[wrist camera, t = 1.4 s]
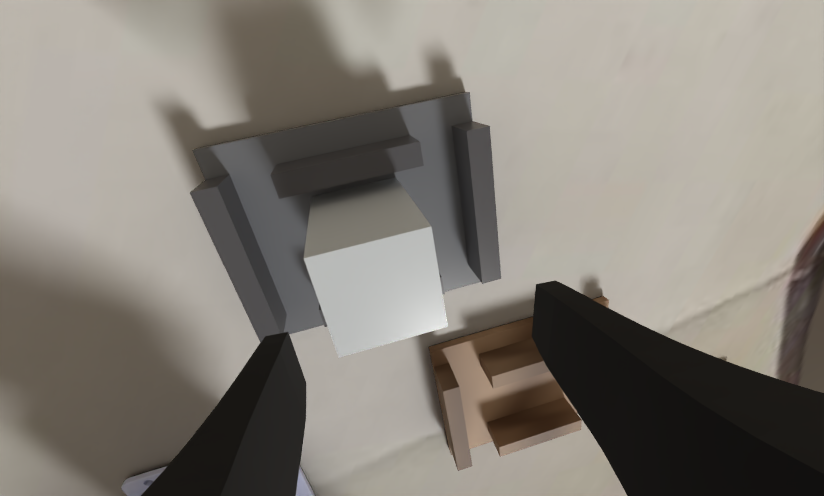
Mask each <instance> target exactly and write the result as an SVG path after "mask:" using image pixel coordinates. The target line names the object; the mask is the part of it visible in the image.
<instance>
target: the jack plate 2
mask: <svg viewBox="0 0 824 496" xmlns="http://www.w3.org/2000/svg"><path fill="white" fill-rule="evenodd" d="M592 300H594V301H596V302H598V303H600V304H601V305H603V306H605V307H607V308H608V303H609V300H608V299H607V298H605V297H604V296H602V297H599V298H595V299H592ZM532 326H533V317H530V318H526V319H523V320H519V321H516V322H513V323H509V324H506V325H502V326H499V327H495V328H492V329H489V330H485V331H482V332H478V333H475V334H471V335H468V336H464V337H461V338H458V339H454V340H451V341H447V342H444V343H440V344H437V345H433V346H430V347H429V351H430V356H431V361H432V366H433V371H434V376H435V381H436V386H437V391H438V396H439V401H440V406H441V411H442V416H443V421H444V426H445V430H446V435H447V440H448V445H449V450H450V453H451V455H453V457H454V460H455V463H456V466H457V469H458V471H459V470H462V469H465V468H468V467H471V466H472V461H471V455H470V449H471V448H474V447H477V446H480V445H483V444H486V443H489V442H492V441H493V442H494V444H495V446H496V449H497V451H498V453H499V455H500V457H501V456H504V455H507V454H510V453H513V452H516V451H519V450H522V449H525V448H528V447H531V446H534V445H537V444H540V443H543V442H546V441H549V440H552V439H555V438H558V437H561V436H564V435H567V434H570V433H573V432H576V431H579V430H581V421H582V420H581V419H580V417H579V416H578V415H577V413H578V412H577V411H576V409H575V408H574V406H573V405H572V404H571V402H570V401H569V399H568V398H567V396H566V395H565V393H564V392H563V390H562V389H561V387H560V386H559V384H558V383H557V381H556V380H555V378H554V377H553V375H552V374H551V372H550V371H549V369H548V368H547V366H546V364H545V362H544V360H543V359H542V357H541V355H540V353H539V351H538V349H537V347H536V345H535V342H534V340H533V338H532Z"/></svg>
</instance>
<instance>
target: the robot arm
mask: <svg viewBox="0 0 824 496" xmlns="http://www.w3.org/2000/svg"><path fill="white" fill-rule="evenodd" d="M532 338H533V340H534V342H535V345H536V347H537V349H538V351H539V353H540V355H541V357H542V359H543V360H544V362H545V364H546V366H547V368H548V369H549V371H550V372H551V374H552V375H553V377H554V378H555V380H556V381H557V383H558V384H559V386H560V387H561V389H562V390H563V392H564V393H565V395H566V396H567V398H568V399H569V401H570V402H571V404H572V405H573V406H574V408H575V409H576V411H577V412H578V414H579V415H580V417H581V418H582V420H583V421H584V423H585V424H586V426H587V427H588V429H589V430H590V431H591V433H592V434H593V436H594V438H595V439H596V441H597V442H598V444H599V446H600V447H601V449H602V450H603V452H604V454H605V456H606V457H607V459H608V461H609V463H610V465H611V466H612V468H613V470H614V472H615V474H616V475H617V477H618V479H619V481H620V483H621V484H622V486H623V488H624V490H625V492H626V494H627V496H824V393H821V392H817V391H814V390H810V389H808V388H804V387H801V386H798V385H794V384H791V383H788V382H785V381H782V380H779V379H776V378H773V377H770V376H767V375H764V374H761V373H758V372H755V371H752V370H749V369H746V368H743V367H740V366H738V365H735V364H732V363H729V362H727V361H724V360H721V359H719V358H716V357H714V356H711V355H709V354H706V353H704V352H701V351H699V350H696V349H694V348H691V347H689V346H686V345H684V344H682V343H679V342H677V341H675V340H672V339H670V338H668V337H666V336H664V335H662V334H659V333H657V332H655V331H653V330H651V329H649V328H647V327H644V326H642V325H640V324H638V323H636V322H634V321H632V320H630V319H628V318H626V317H624V316H622V315H621V314H619V313H617V312H615V311H613V310H611V309H609V308H607V307H605V306H603V305H601V304H600V303H598V302H596V301H594V300H592V299H590V298H588V297H586V296H585V295H583V294H581V293H579V292H577V291H575V290H573V289H571V288H570V287H568V286H566V285H564V284H562V283H559V282H557V281H551V282H546V283H541V284H536V291H535V303H534V314H533V326H532ZM305 421H306V381H305V378H304V376H303V373H302V370H301V367H300V364H299V361H298V358H297V356H296V353H295V350H294V347H293V344H292V341H291V338H290V336H289V333H288V332H284V333H279V334H274V335H269V336H265V337H264V339H263V340H262V342H261V343H260V344H259V346H258V347H257V349H256V350H255V352H254V353H253V355H252V356H251V358H250V359H249V360H248V362H247V363H246V365H245V366H244V368H243V369H242V371H241V372H240V374H239V375H238V377H237V378H236V379H235V381H234V382H233V384H232V385H231V386H230V388H229V389H228V391H227V392H226V393H225V395H224V396H223V397H222V399H221V400H220V402H219V403H218V404H217V406H216V407H215V408H214V410H213V411H212V412H211V414H210V415H209V416H208V417H207V419H206V420H205V421H204V423H203V424H202V425H201V426H200V428H199V429H198V430H197V431H196V433H195V434H194V435H193V437H192V438H191V439H190V440H189V442H188V443H187V444H186V445H185V446H184V448H183V449H182V450H181V451H180V452H179V454H178V455H177V456H176V457H175V458H174V459H173V461H172V462H171V463H170V464H169V465H168V466H166V467H163V468H159V469H156V470H153V471H149V472H146V473H143V474H140V475H136V476H133V477H130V478H128V479H126V480H125V481H124V483H123V485H122V488H121V489H122V491H123V492H124V493H125V494H126V495H127V496H315V494H314V492H313V490H312V488H311V486H310V484H309V482H308V481H307V479H306V477H305V475H304V473H303V471H302V469H301V467H300V459H301V452H302V444H303V437H304V429H305Z"/></svg>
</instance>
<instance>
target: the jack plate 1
mask: <svg viewBox="0 0 824 496" xmlns="http://www.w3.org/2000/svg"><path fill="white" fill-rule="evenodd" d="M193 153H194V155H195V157H196V159H197V162H198V164H199V166H200V168H201V171H202V173H203V175H204V177H205V181H203V182H202V183H201V184H200V185H199V186H197V187H196V188H195V189H194V190H192V191H191V192H190V194H191V196H192V198H193V201H194V203H195V205H196V207H197V209H198V211H199V213H200V215H201V217H202V220H203V222H204V224H205V226H206V228H207V230H208V232H209V234H210V237H211V239H212V241H213V243H214V245H215V247H216V249H217V251H218V254H219V256H220V258H221V260H222V262H223V264H224V266H225V268H226V270H227V273H228V275H229V277H230V279H231V281H232V283H233V285H234V287H235V290H236V292H237V294H238V296H239V298H240V300H241V302H242V304H243V306H244V309H245V311H246V313H247V315H248V317H249V319H250V321H251V323H252V326H253V328H254V330H255V332H256V334H257V336H258V338H259V340H260V343H261V342H262V340H263V339H264V337H265V336H269V335H274V334H279V333H284V332H288V333H289V334H292V333H296V332H299V331H303V330H307V329H310V328H314V327H318V326H321V325H324V326H325V327H327V323H326V321H325V318H324V315H323V312H322V309H321V306H320V304H319V301H318V298H317V295H316V292H315V289H314V287H313V284H312V281H311V278H310V275H309V273H308V270H307V267H306V264H305V261H304V251H305V243H306V236H307V228H308V220H309V212H310V205H311V197H313V196H317V195H322V194H326V193H330V192H335V191H339V190H343V189H347V188H352V187H356V186H360V185H365V184H369V183H373V182H378V181H382V180H386V179H390V178H395V177H396V178H397V179H398V181H399V182H400V184H401V185H402V186H403V188H404V189H405V191H406V192H407V193H408V195H409V196H410V197H411V199H412V200H413V202H414V203H415V204H416V206H417V207H418V209H419V210H420V211H421V213H422V214H423V215H424V217H425V218H426V220H427V221H428V222H429V224H430V225H431V227H432V233H433V239H434V245H435V251H436V257H437V263H438V269H439V275H440V282H441V288H442V294H444V292H445V291H449V290H453V289H456V288H460V287H464V286H467V285H471V284H475V283H478V282H482V284H483V283H487V282H490V281H494V280H498V279H501V271H500V258H499V245H498V231H497V218H496V205H495V191H494V178H493V164H492V151H491V138H490V126H488V125H484V124H480V123H477V122H473V121H472V113H471V102H470V92H463V93H459V94H454V95H449V96H444V97H440V98H435V99H430V100H425V101H420V102H416V103H411V104H406V105H401V106H396V107H392V108H387V109H382V110H377V111H373V112H368V113H363V114H358V115H353V116H349V117H344V118H339V119H334V120H330V121H325V122H320V123H315V124H310V125H306V126H301V127H296V128H291V129H287V130H282V131H277V132H272V133H267V134H263V135H258V136H253V137H248V138H244V139H239V140H234V141H229V142H224V143H220V144H215V145H210V146H205V147H201V148H196V149H194V150H193Z"/></svg>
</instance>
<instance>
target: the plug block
mask: <svg viewBox="0 0 824 496" xmlns="http://www.w3.org/2000/svg"><path fill="white" fill-rule="evenodd" d="M304 261H305V264H306V267H307V270H308V273H309V275H310V278H311V281H312V284H313V287H314V289H315V292H316V295H317V298H318V301H319V304H320V306H321V309H322V312H323V315H324V318H325V321H326V323H327V326H328V329H329V332H330V335H331V337H332V340H333V343H334V346H335V349H336V352H337V354H338V357H339V358H340V357H344V356H347V355H351V354H354V353H358V352H361V351H365V350H368V349H372V348H375V347H379V346H382V345H386V344H389V343H393V342H396V341H400V340H403V339H407V338H410V337H414V336H417V335H421V334H424V333H428V332H431V331H435V330H438V329H442V328H445V327H448V324H447V318H446V312H445V306H444V300H443V294H442V288H441V282H440V275H439V269H438V263H437V257H436V251H435V245H434V239H433V233H432V227H431V225H430V224H429V222H428V221H427V220H426V218H425V217H424V215H423V214H422V213H421V211H420V210H419V209H418V207H417V206H416V204H415V203H414V202H413V200H412V199H411V197H410V196H409V195H408V193H407V192H406V191H405V189H404V188H403V186H402V185H401V184H400V182H399V181H398V179H397V178H396V177H395V178H390V179H386V180H382V181H378V182H373V183H369V184H365V185H360V186H356V187H352V188H347V189H343V190H339V191H335V192H330V193H326V194H322V195H317V196H313V197H311V205H310V212H309V220H308V228H307V236H306V243H305V251H304Z"/></svg>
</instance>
